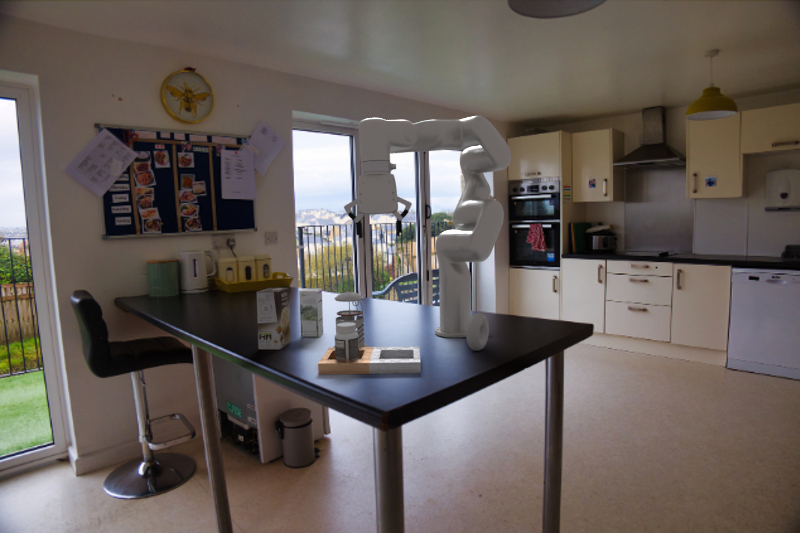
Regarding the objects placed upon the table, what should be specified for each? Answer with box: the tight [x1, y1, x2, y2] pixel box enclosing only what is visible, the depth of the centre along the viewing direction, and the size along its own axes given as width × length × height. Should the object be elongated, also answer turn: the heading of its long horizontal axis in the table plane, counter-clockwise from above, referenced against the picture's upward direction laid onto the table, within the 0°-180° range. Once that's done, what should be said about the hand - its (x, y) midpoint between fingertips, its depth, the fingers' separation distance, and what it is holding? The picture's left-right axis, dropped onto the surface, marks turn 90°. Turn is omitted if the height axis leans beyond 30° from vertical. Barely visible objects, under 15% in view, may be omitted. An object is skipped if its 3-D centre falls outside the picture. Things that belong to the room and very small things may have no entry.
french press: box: [332, 256, 369, 348], centre depth 130 cm, size 10×12×25 cm
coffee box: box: [255, 287, 292, 350], centre depth 133 cm, size 9×6×16 cm
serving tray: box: [317, 346, 422, 375], centre depth 113 cm, size 23×14×2 cm, turn 89°
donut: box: [465, 312, 490, 352], centre depth 124 cm, size 10×4×10 cm, turn 148°
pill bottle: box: [334, 322, 359, 360], centre depth 113 cm, size 6×6×10 cm
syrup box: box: [298, 287, 324, 338], centre depth 145 cm, size 6×6×14 cm
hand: (379, 237), depth 121 cm, fingers open, 9 cm apart
